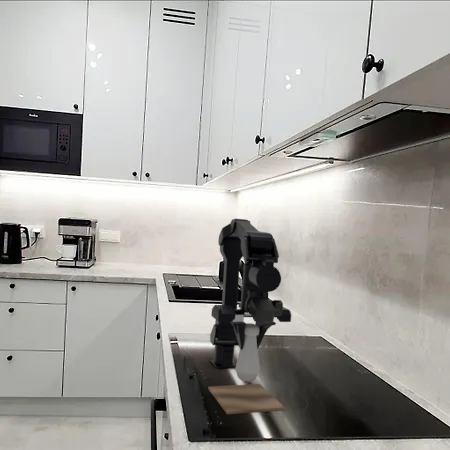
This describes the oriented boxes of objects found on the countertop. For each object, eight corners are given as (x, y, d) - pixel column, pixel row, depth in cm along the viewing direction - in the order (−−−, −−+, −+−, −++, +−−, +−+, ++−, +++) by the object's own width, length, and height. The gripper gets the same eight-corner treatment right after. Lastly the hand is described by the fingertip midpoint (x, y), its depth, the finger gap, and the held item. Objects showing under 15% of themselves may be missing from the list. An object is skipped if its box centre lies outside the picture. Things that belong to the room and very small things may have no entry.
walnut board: (208, 388, 105) (208, 386, 105) (259, 386, 109) (259, 383, 109) (227, 414, 91) (227, 411, 91) (284, 409, 96) (284, 407, 96)
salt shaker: (257, 374, 103) (261, 322, 103) (260, 383, 98) (264, 328, 98) (234, 373, 103) (238, 320, 103) (235, 382, 98) (239, 326, 97)
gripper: (229, 289, 90) (223, 361, 90) (305, 291, 96) (299, 359, 96) (213, 281, 100) (208, 345, 100) (283, 283, 106) (277, 344, 107)
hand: (248, 349), depth 100 cm, fingers closed on salt shaker, 3 cm apart
